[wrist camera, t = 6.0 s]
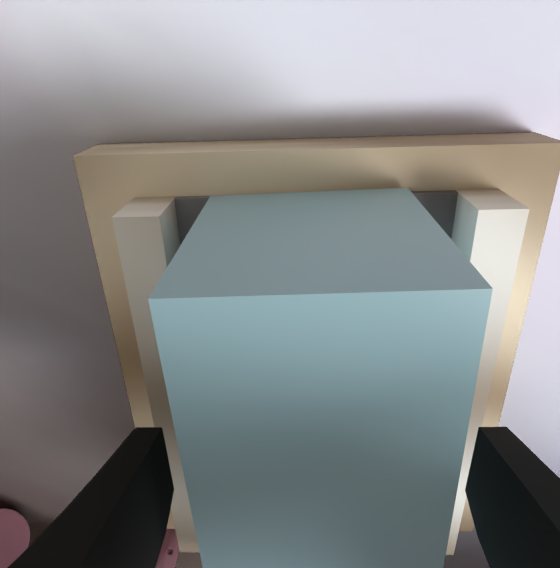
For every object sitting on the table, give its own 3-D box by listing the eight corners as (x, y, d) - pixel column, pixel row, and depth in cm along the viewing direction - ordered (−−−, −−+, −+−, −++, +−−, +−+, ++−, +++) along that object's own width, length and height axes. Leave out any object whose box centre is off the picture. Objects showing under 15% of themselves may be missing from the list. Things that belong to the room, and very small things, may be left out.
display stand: (459, 493, 17) (489, 575, 14) (168, 492, 18) (145, 571, 15) (534, 132, 11) (608, 156, 9) (98, 144, 12) (39, 170, 9)
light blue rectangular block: (383, 513, 15) (419, 703, 11) (248, 514, 15) (229, 701, 11) (407, 187, 10) (492, 288, 6) (210, 195, 11) (147, 299, 6)
